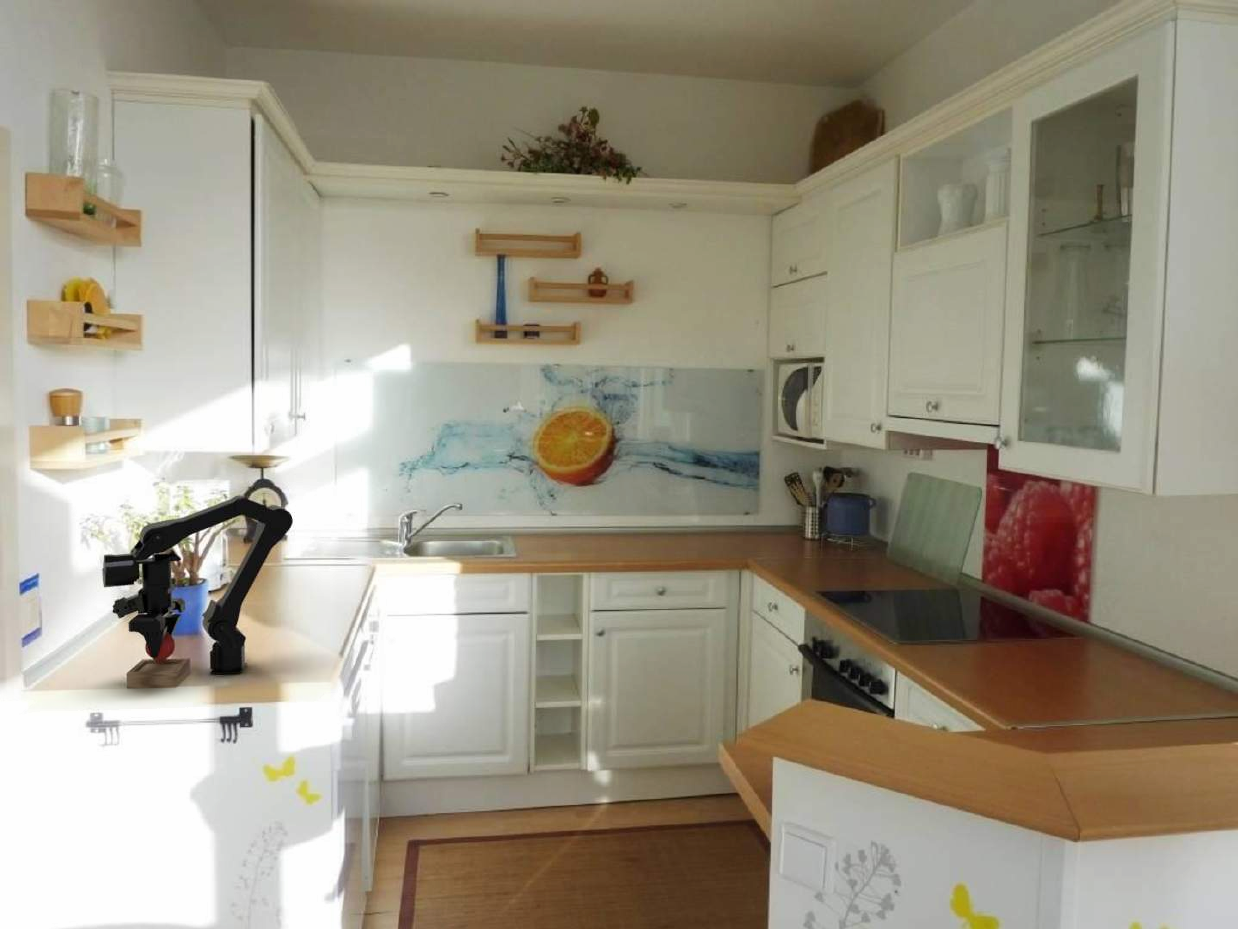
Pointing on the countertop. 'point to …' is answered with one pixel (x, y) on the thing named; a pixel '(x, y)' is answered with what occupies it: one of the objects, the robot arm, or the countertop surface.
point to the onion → (164, 648)
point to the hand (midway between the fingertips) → (159, 653)
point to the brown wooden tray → (158, 673)
